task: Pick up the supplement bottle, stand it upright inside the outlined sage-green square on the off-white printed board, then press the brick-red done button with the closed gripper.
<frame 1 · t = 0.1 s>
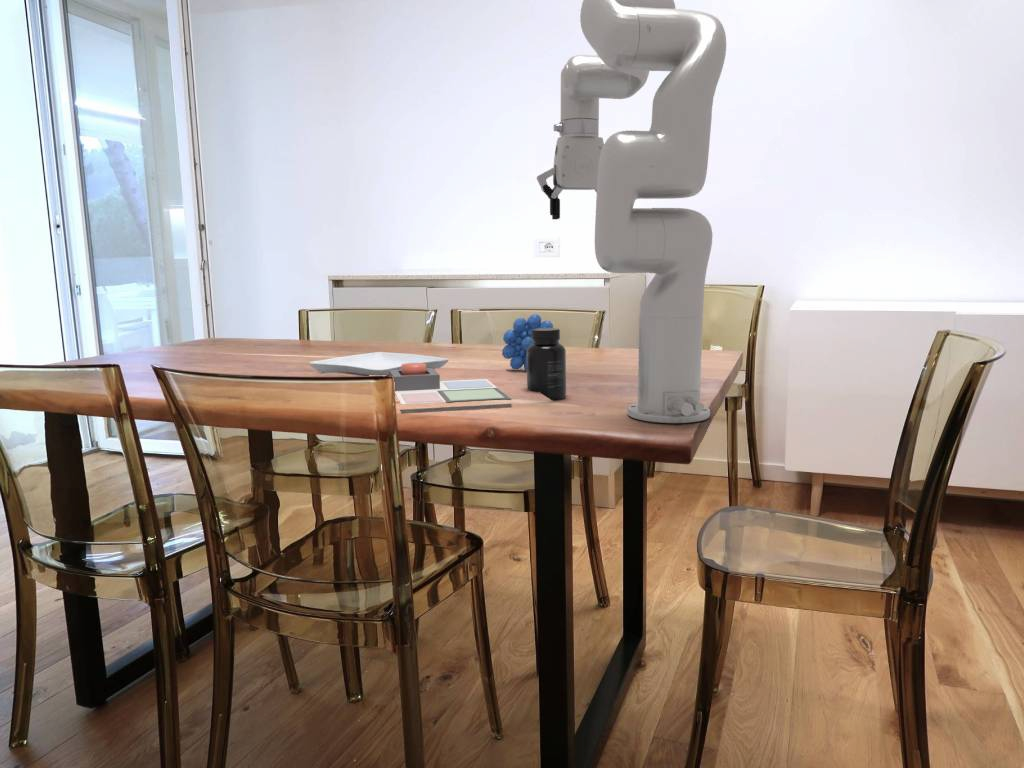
hand: (578, 219, 167), 31 cm above the table, fingers open, 9 cm apart
salad plate: (380, 376, 173), on the table
done button: (413, 370, 148), point 4 cm above the table, slide at 0.0 cm
supplement bottle: (546, 398, 145), on the table
printed board: (447, 399, 144), on the table
grapes: (530, 371, 175), on the table
done button housing: (414, 386, 148), resting on printed board
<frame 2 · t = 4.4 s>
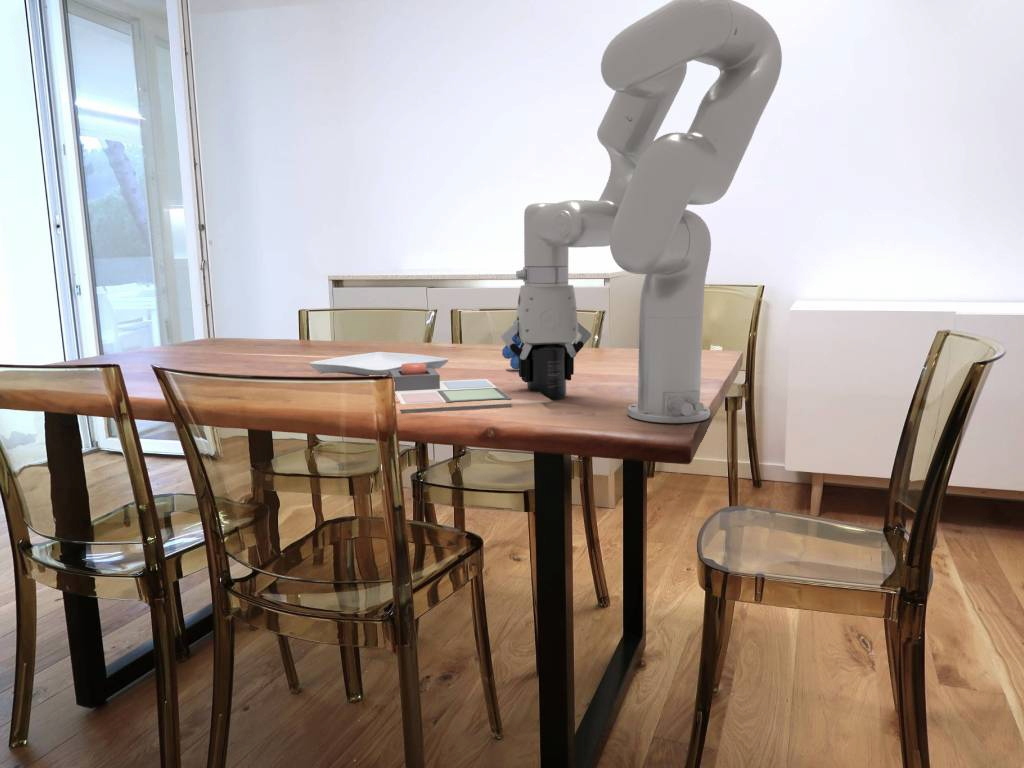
hand: (546, 379, 144), 3 cm above the table, fingers closed on supplement bottle, 6 cm apart
supplement bottle: (546, 398, 145), on the table, touching gripper
everything else where it was.
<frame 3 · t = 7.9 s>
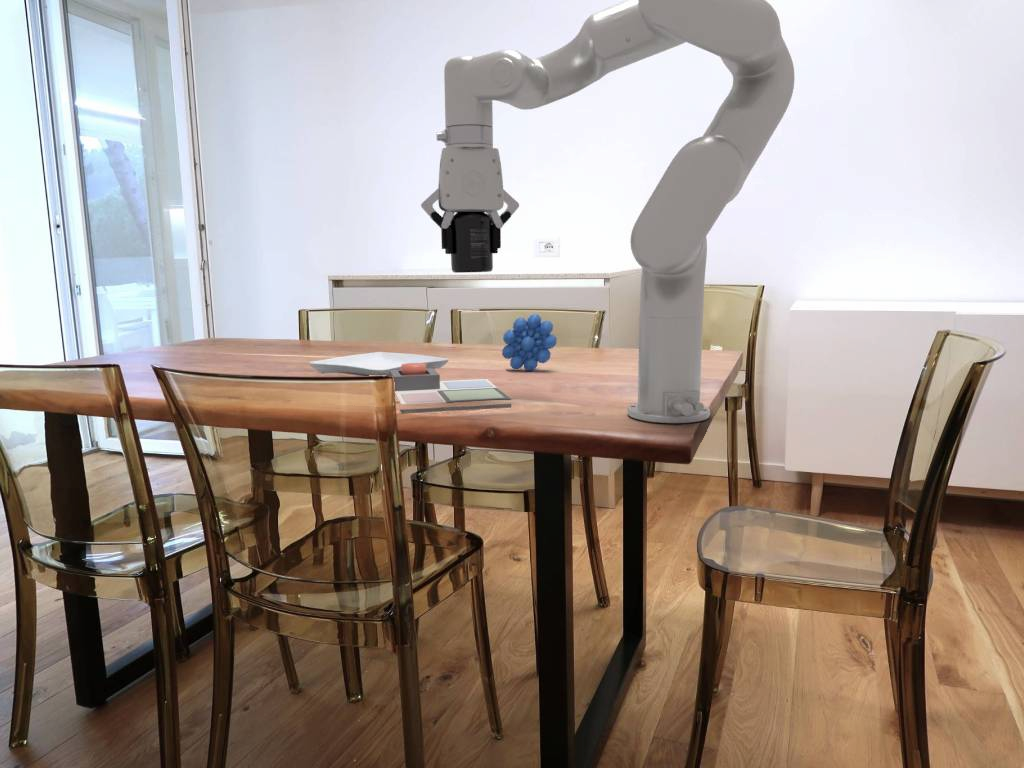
hand: (471, 252, 135), 25 cm above the table, fingers closed on supplement bottle, 6 cm apart
supplement bottle: (472, 273, 136), point 22 cm above the table, touching gripper
everything else where it was.
when the fingers open (6 cm above the table, at t = 11.9 s): supplement bottle drops 1 cm, resting on printed board.
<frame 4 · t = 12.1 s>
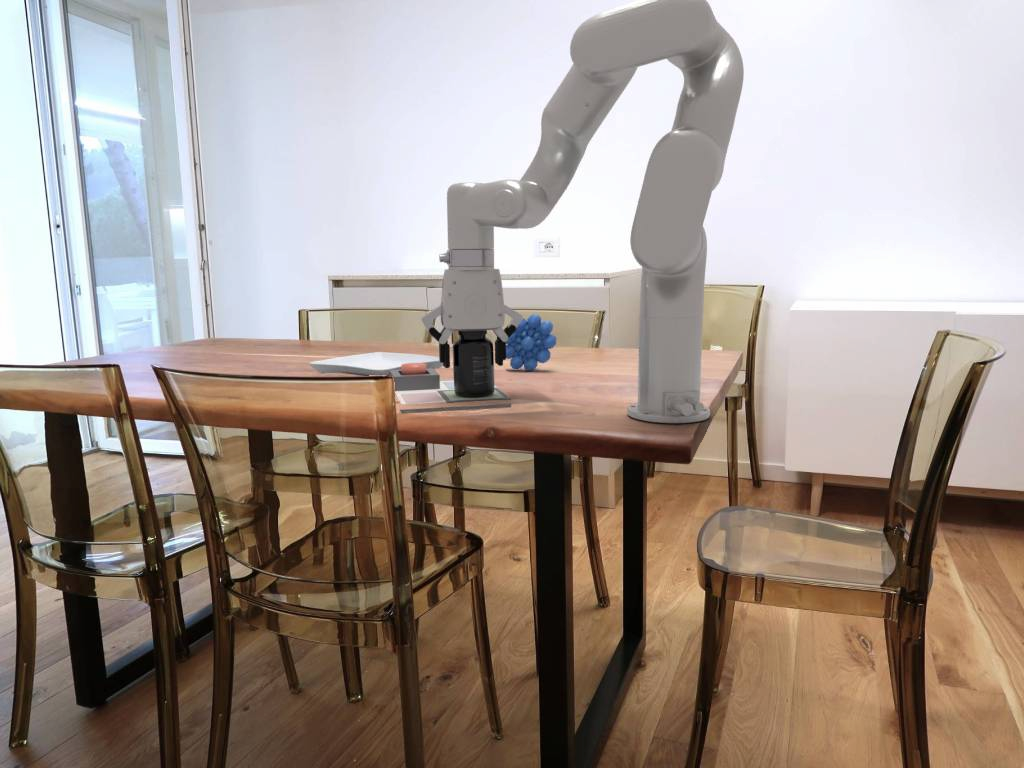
hand: (472, 365, 138), 7 cm above the table, fingers open, 8 cm apart
supplement bottle: (474, 395, 139), point 1 cm above the table, touching printed board
everything else where it was.
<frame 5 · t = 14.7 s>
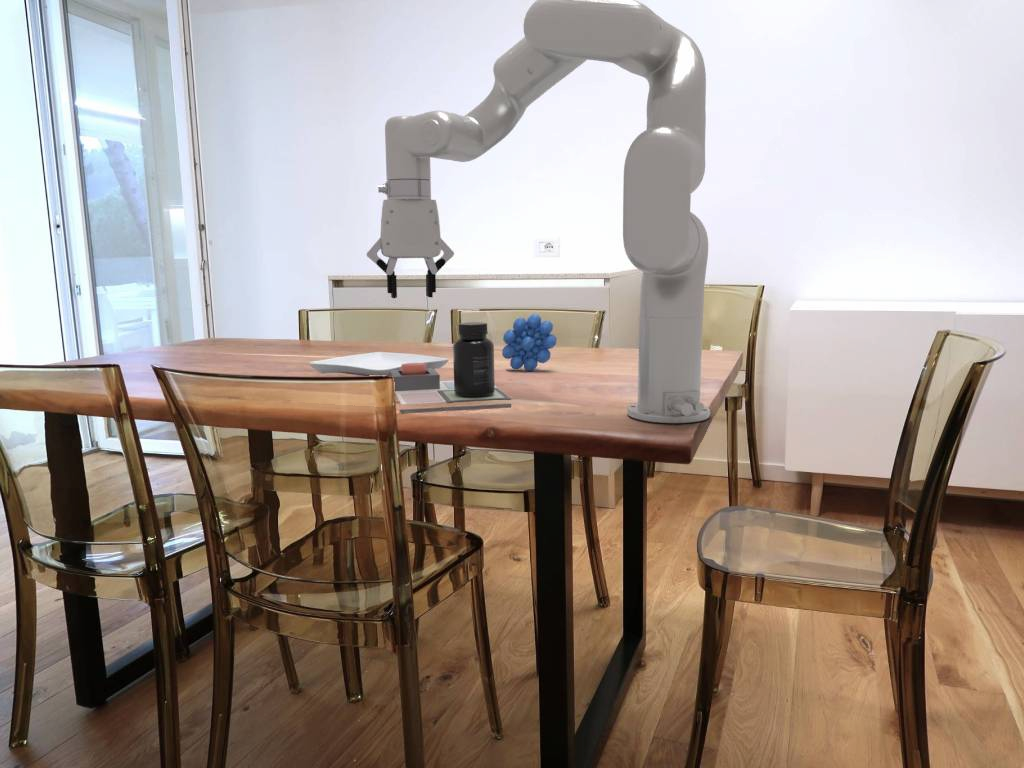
hand: (411, 296, 145), 18 cm above the table, fingers open, 5 cm apart
nothing on the table moved.
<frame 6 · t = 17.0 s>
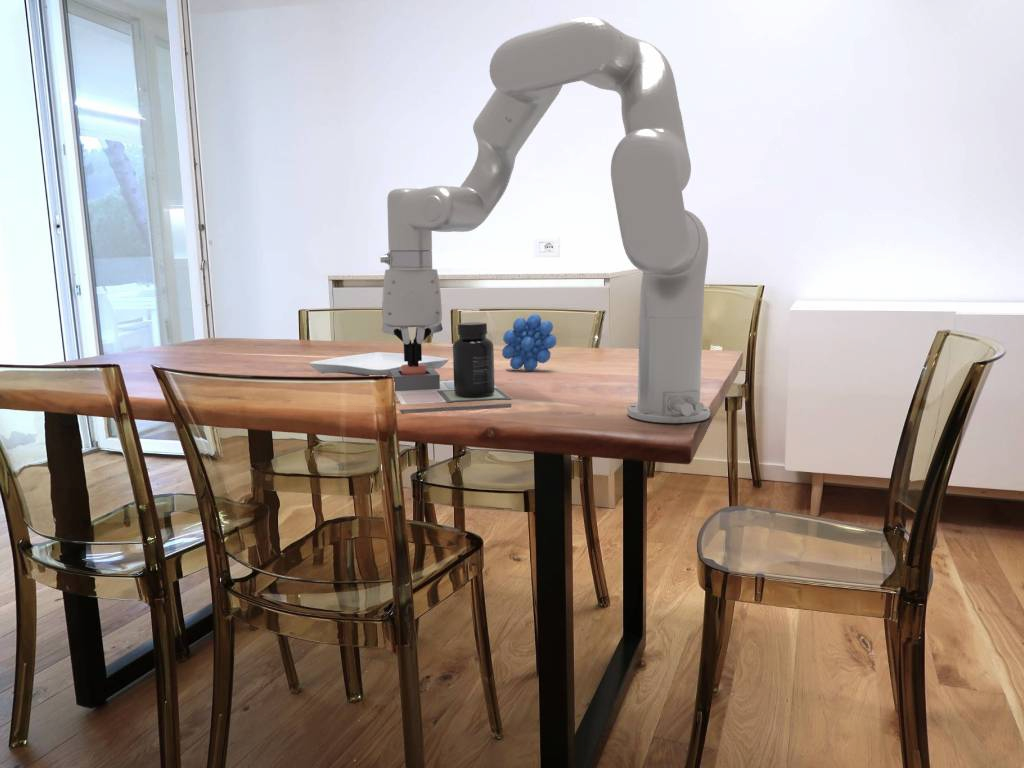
hand: (413, 365, 148), 5 cm above the table, fingers closed
done button: (413, 371, 148), point 4 cm above the table, slide at 0.2 cm, touching gripper
everything else where it was.
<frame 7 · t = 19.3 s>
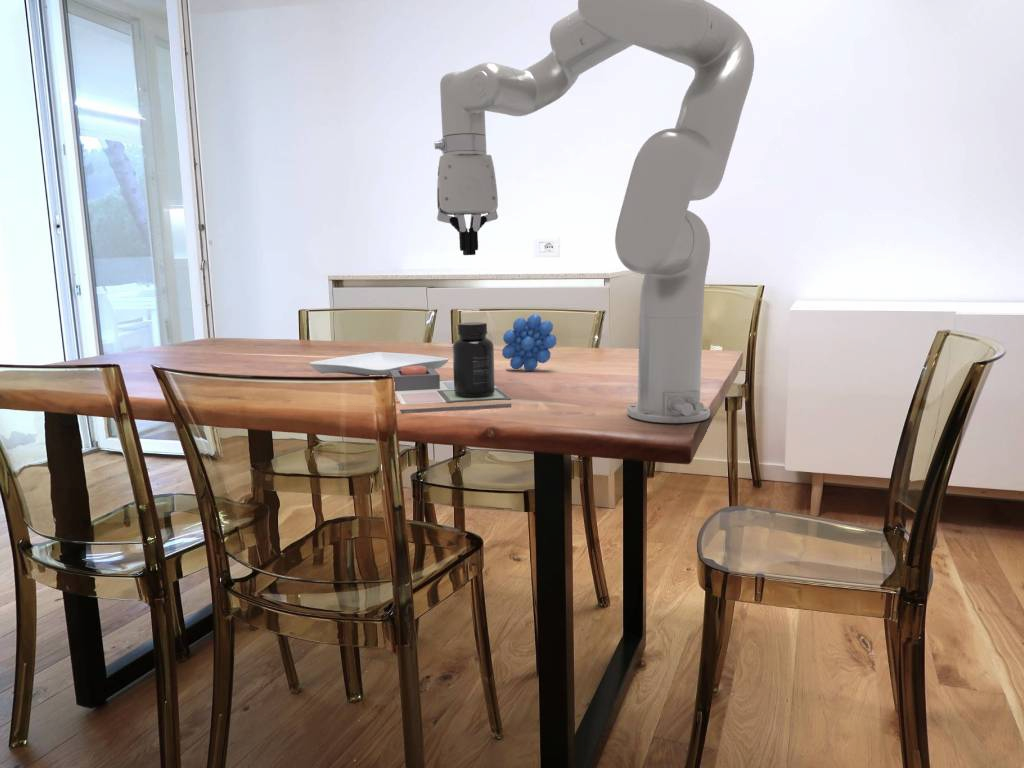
hand: (469, 254, 147), 25 cm above the table, fingers closed
done button: (413, 372, 148), point 4 cm above the table, slide at 0.5 cm
everything else where it was.
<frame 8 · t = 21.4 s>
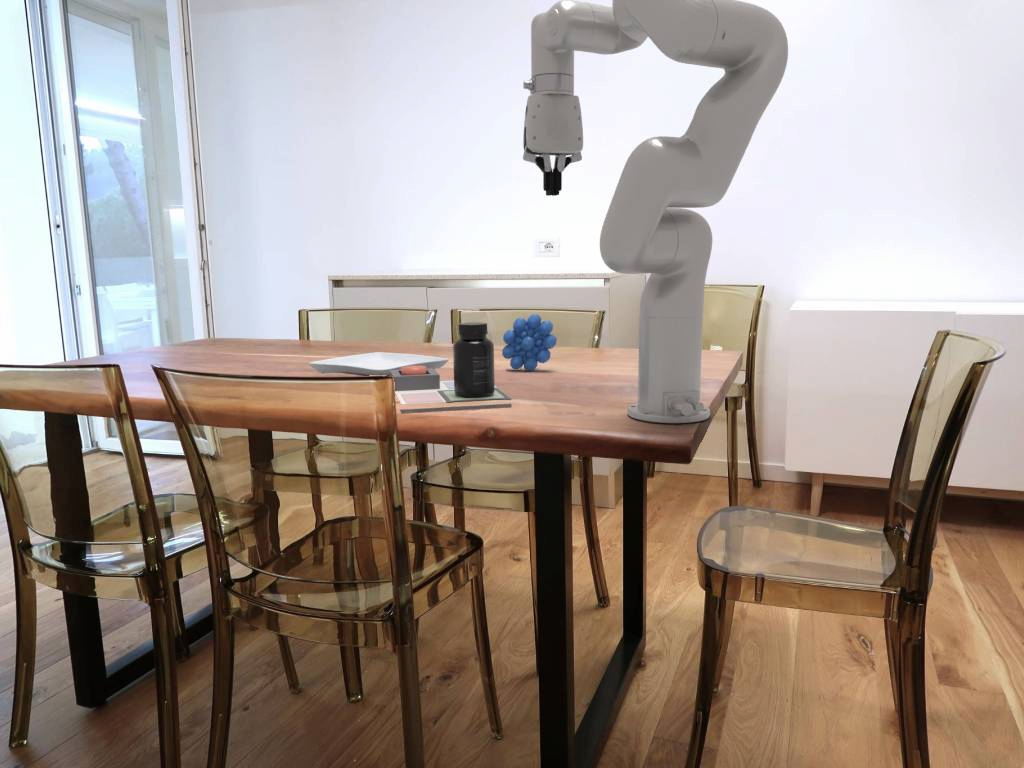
hand: (552, 195, 149), 35 cm above the table, fingers closed
nothing on the table moved.
at the end: supplement bottle inside the target area on the printed board (0.2 cm from its centre), point 1.4 cm above the printed board's base; supplement bottle tilted 0°; done button slide at 0.5 cm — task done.
